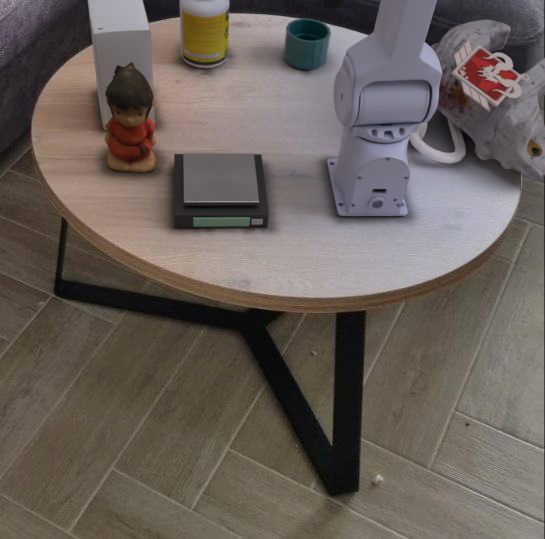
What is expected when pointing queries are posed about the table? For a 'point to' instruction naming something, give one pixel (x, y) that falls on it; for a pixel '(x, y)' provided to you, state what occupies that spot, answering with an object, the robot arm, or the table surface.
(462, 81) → the decorative emblem
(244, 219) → the scale base
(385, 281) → the table surface
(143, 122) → the figurine
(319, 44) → the cup
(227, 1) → the pill bottle
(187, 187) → the pan
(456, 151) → the white looped part
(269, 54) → the table surface
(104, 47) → the small box
